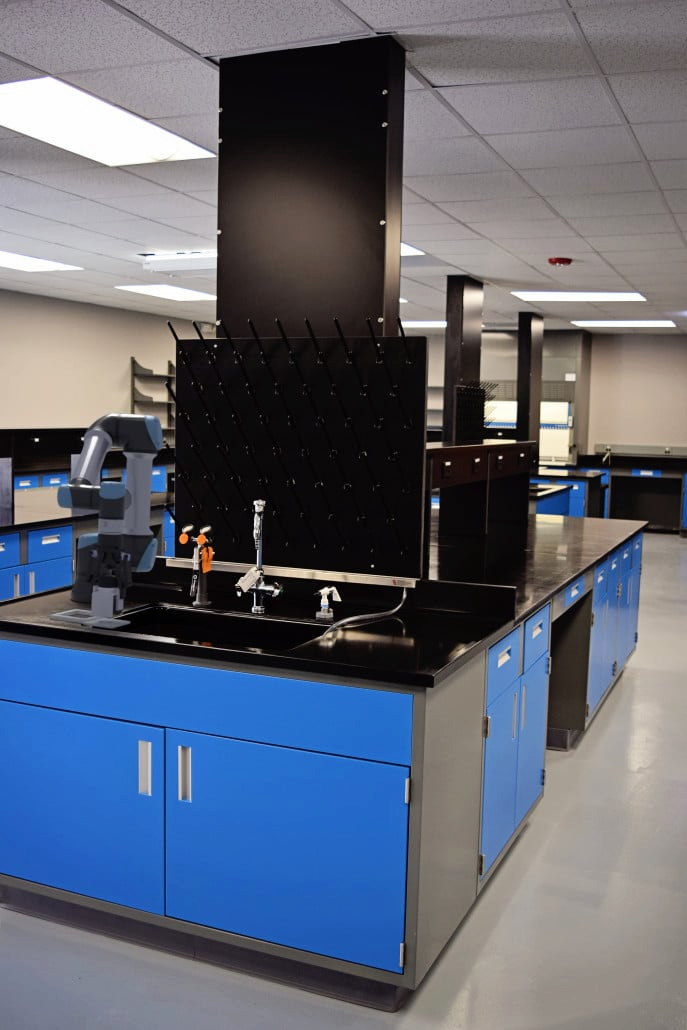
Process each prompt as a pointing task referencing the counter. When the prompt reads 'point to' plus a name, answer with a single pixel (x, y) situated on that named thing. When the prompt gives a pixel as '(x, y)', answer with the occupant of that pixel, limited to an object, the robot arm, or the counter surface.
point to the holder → (66, 617)
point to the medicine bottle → (105, 598)
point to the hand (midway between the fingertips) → (107, 608)
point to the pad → (106, 622)
